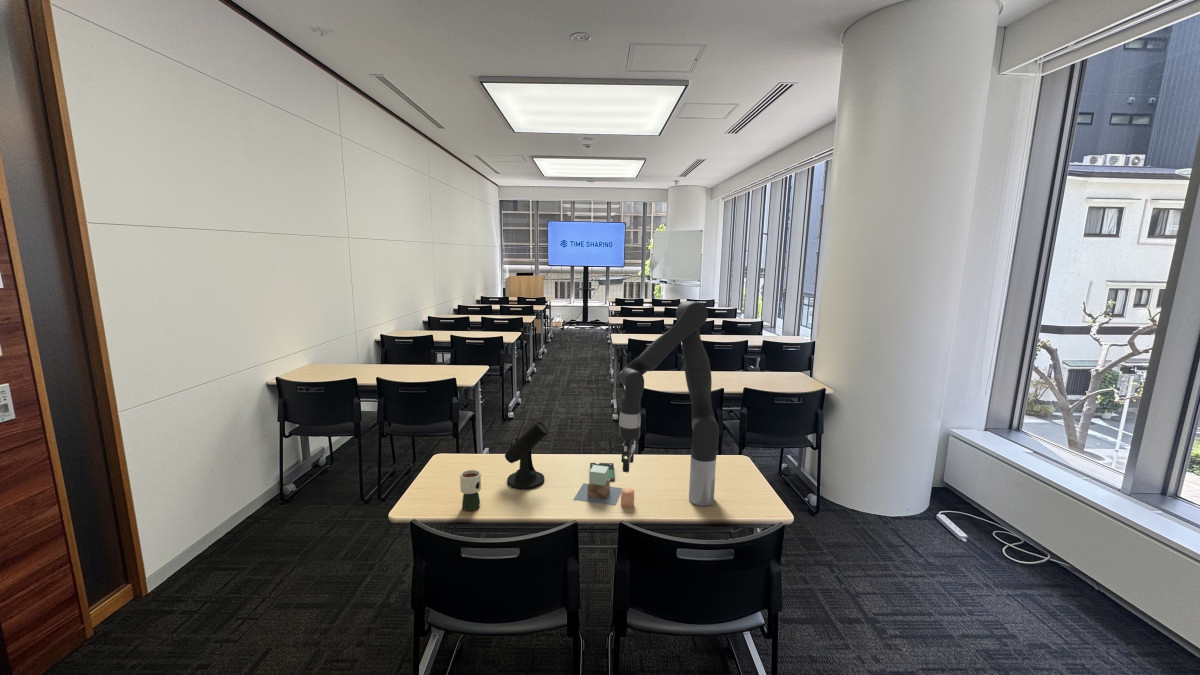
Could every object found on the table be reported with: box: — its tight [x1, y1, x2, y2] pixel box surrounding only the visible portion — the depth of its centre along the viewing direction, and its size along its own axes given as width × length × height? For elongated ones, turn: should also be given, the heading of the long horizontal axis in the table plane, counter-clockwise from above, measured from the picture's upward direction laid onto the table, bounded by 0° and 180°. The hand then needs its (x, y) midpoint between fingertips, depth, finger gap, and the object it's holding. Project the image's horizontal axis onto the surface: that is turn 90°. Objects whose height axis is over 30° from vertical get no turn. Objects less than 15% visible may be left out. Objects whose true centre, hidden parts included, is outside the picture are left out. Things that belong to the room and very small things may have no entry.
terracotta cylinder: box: [620, 487, 635, 509], centre depth 177 cm, size 5×5×6 cm
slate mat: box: [573, 482, 624, 507], centre depth 185 cm, size 16×14×1 cm
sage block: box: [588, 465, 609, 486], centre depth 183 cm, size 6×6×5 cm
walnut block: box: [587, 478, 611, 499], centre depth 184 cm, size 7×7×5 cm
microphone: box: [504, 421, 549, 491], centre depth 194 cm, size 15×17×25 cm
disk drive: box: [589, 462, 616, 482], centre depth 203 cm, size 10×3×15 cm
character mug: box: [459, 469, 482, 511], centre depth 173 cm, size 11×7×13 cm, turn 4°
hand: (628, 466), depth 175 cm, fingers open, 8 cm apart
